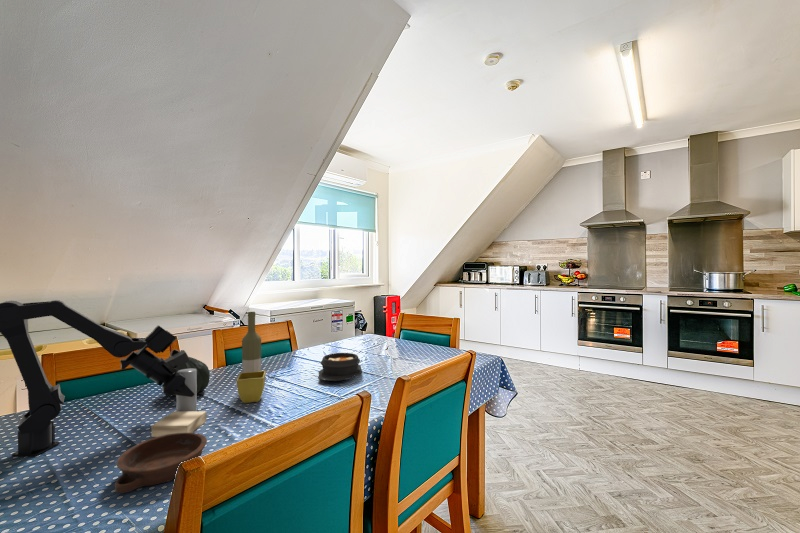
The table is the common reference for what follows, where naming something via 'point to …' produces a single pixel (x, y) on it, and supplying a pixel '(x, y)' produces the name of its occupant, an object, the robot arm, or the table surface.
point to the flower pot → (251, 386)
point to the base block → (179, 423)
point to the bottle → (251, 347)
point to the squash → (198, 372)
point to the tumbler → (191, 381)
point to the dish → (157, 460)
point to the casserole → (339, 367)
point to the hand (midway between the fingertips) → (191, 393)
